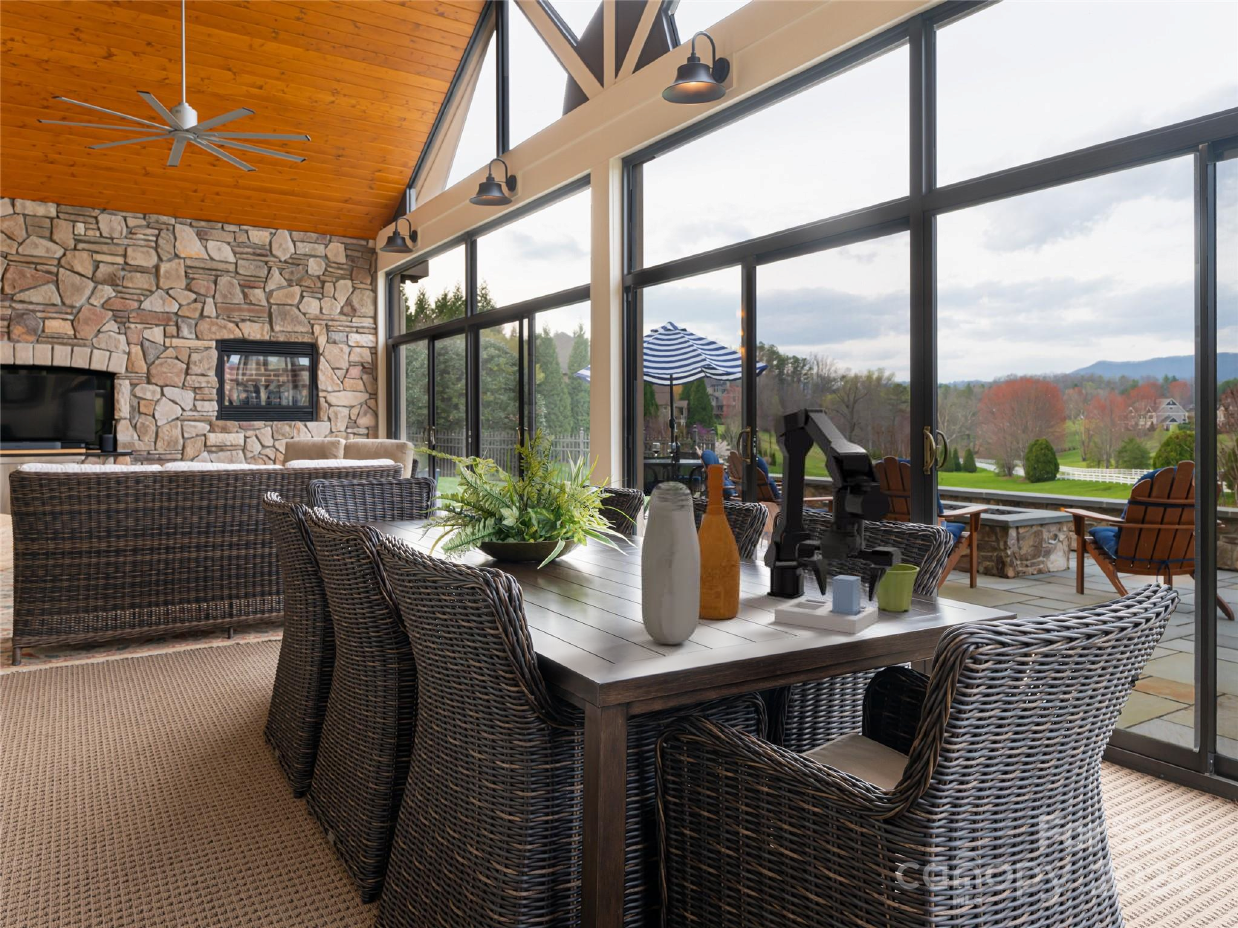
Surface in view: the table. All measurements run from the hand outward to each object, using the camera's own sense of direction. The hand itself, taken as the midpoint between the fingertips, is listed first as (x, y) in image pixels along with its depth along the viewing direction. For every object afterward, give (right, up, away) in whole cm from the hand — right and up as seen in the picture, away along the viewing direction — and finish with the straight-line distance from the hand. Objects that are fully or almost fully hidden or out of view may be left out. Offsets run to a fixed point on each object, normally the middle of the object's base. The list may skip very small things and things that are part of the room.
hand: (846, 598), depth 163 cm
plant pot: (+13, -5, +14) cm, 20 cm away
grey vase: (-34, -6, -14) cm, 37 cm away
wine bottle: (-24, -5, +8) cm, 26 cm away
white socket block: (-3, -5, +2) cm, 6 cm away
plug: (0, -5, 0) cm, 5 cm away
